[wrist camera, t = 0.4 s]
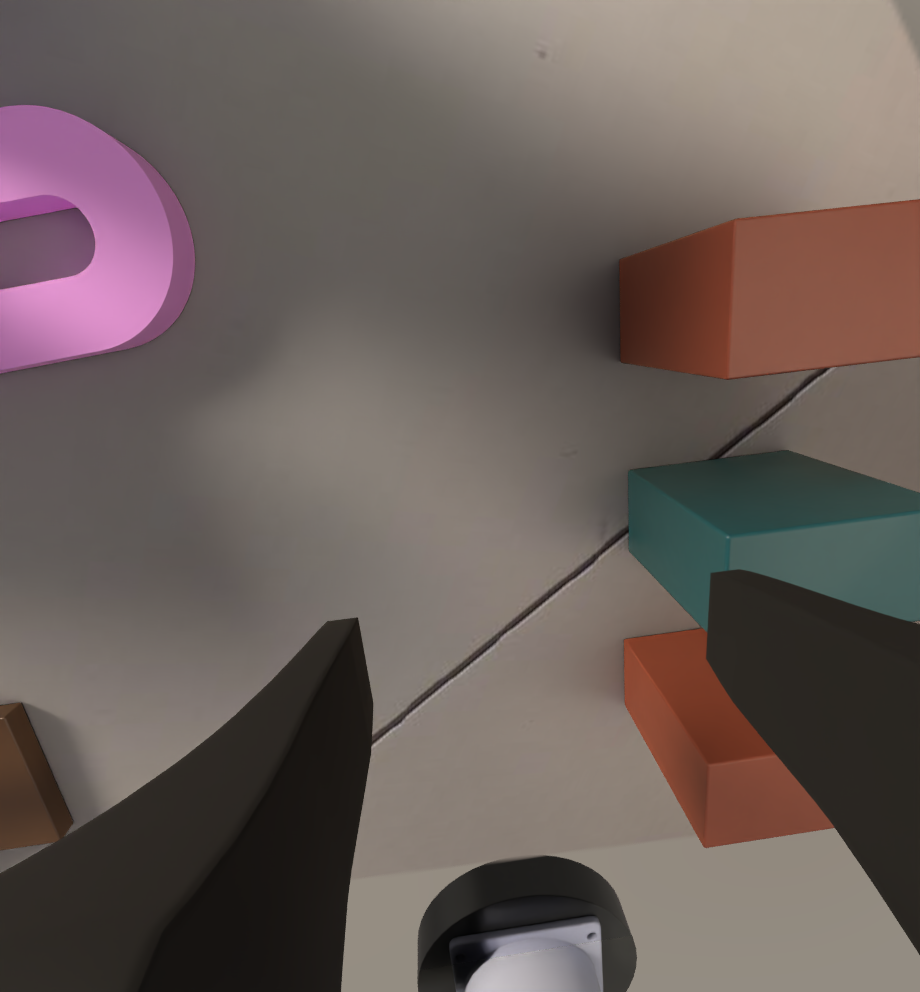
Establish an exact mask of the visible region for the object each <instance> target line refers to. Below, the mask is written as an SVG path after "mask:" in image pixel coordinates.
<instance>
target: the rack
mask: <svg viewBox="0 0 920 992" xmlns="http://www.w3.org/2000/svg"><path fill="white" fill-rule="evenodd" d="M72 824H73V821H72V818H71V816H70V814H69V812H68V809H67V807H66V805H65V802H64V800H63V798H62V795H61V793H60V791H59V789H58V786H57V784H56V782H55V779H54V777H53V775H52V773H51V770H50V768H49V766H48V763H47V761H46V759H45V757H44V754H43V752H42V750H41V747H40V745H39V743H38V740H37V738H36V736H35V734H34V731H33V729H32V727H31V724H30V722H29V720H28V718H27V715H26V713H25V711H24V708H23V706H22V704H21V703H15V704H8V705H0V850H6V849H13V848H19V847H26V846H33V845H40V844H46V843H53V842H57V841H58V840H60V839H62V838H63V837H64V836H65V834H66V833H67V832H68V830H69V829H70V827H71V826H72Z"/></svg>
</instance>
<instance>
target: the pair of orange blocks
mask: <svg viewBox="0 0 920 992" xmlns="http://www.w3.org/2000/svg"><path fill="white" fill-rule="evenodd" d="M619 270H620V353H621V363H627V364H633V365H639V366H645V367H652V368H658V369H664V370H670V371H677V372H683V373H689V374H695V375H702V376H708V377H714V378H720V379H726V380H730V379H739V378H747V377H755V376H764V375H772V374H781V373H789V372H798V371H806V370H815V369H823V368H831V367H840V366H848V365H857V364H865V363H874V362H882V361H891V360H899V359H907V358H916V357H920V199H918V200H909V201H899V202H890V203H880V204H871V205H861V206H852V207H842V208H833V209H823V210H814V211H804V212H795V213H785V214H776V215H766V216H757V217H747V218H738V219H734V220H731V221H728V222H725V223H722V224H719V225H716V226H714V227H711V228H708V229H705V230H702V231H699V232H696V233H694V234H691V235H688V236H685V237H682V238H679V239H676V240H673V241H671V242H668V243H665V244H662V245H659V246H656V247H653V248H650V249H648V250H645V251H642V252H639V253H636V254H633V255H630V256H628V257H625V258H622V259H620V261H619ZM706 649H707V632H706V631H705V630H704V629H703V628H701V629H694V630H687V631H680V632H673V633H665V634H658V635H651V636H644V637H636V638H629V639H625V640H624V674H625V706H626V708H627V710H628V711H629V713H630V715H631V717H632V719H633V720H634V722H635V724H636V726H637V728H638V729H639V731H640V733H641V735H642V737H643V738H644V740H645V742H646V744H647V746H648V747H649V749H650V751H651V753H652V755H653V756H654V758H655V760H656V762H657V764H658V765H659V767H660V769H661V771H662V773H663V775H664V776H665V778H666V780H667V782H668V784H669V785H670V787H671V789H672V791H673V793H674V794H675V796H676V798H677V800H678V802H679V803H680V805H681V807H682V809H683V811H684V812H685V814H686V816H687V818H688V820H689V821H690V823H691V825H692V827H693V829H694V830H695V832H696V834H697V836H698V838H699V840H700V841H701V843H702V845H703V847H705V848H709V847H715V846H721V845H728V844H734V843H741V842H747V841H753V840H760V839H766V838H773V837H779V836H786V835H792V834H798V833H805V832H811V831H818V830H824V829H830V828H835V827H834V826H833V825H832V823H831V822H830V821H829V819H828V818H827V817H826V815H825V814H824V813H823V812H822V810H821V809H820V808H819V806H818V805H817V804H816V802H815V801H814V800H813V799H812V798H811V796H810V795H809V794H808V793H807V792H806V790H805V789H804V788H803V787H802V786H801V784H800V783H799V782H798V781H797V780H796V778H795V777H794V776H793V775H792V774H791V772H790V771H789V770H788V769H787V767H786V766H785V765H784V764H783V763H782V761H781V760H780V759H779V758H778V757H777V755H776V754H775V753H774V752H773V751H772V749H771V748H770V747H769V746H768V745H767V743H766V742H765V741H764V740H763V739H762V737H761V736H760V735H759V734H758V733H757V731H756V730H755V729H754V728H753V726H752V725H751V724H750V723H749V721H748V720H747V719H746V718H745V717H744V715H743V714H742V713H741V712H740V710H739V709H738V708H737V707H736V705H735V704H734V703H733V702H732V700H731V698H730V697H729V695H728V694H727V692H726V691H725V689H724V688H723V686H722V685H721V683H720V681H719V680H718V678H717V676H716V675H715V673H714V671H713V670H712V668H711V666H710V665H709V663H708V661H707V660H706Z"/></svg>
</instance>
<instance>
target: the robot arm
mask: <svg viewBox="0 0 920 992" xmlns="http://www.w3.org/2000/svg"><path fill="white" fill-rule="evenodd" d="M706 660H707V661H708V663H709V665H710V666H711V668H712V670H713V671H714V673H715V675H716V676H717V678H718V680H719V681H720V683H721V685H722V686H723V688H724V689H725V691H726V692H727V694H728V695H729V697H730V698H731V700H732V702H733V703H734V704H735V705H736V707H737V708H738V709H739V710H740V712H741V713H742V714H743V715H744V717H745V718H746V719H747V720H748V721H749V723H750V724H751V725H752V726H753V728H754V729H755V730H756V731H757V733H758V734H759V735H760V736H761V737H762V739H763V740H764V741H765V742H766V743H767V745H768V746H769V747H770V748H771V749H772V751H773V752H774V753H775V754H776V755H777V757H778V758H779V759H780V760H781V761H782V763H783V764H784V765H785V766H786V767H787V769H788V770H789V771H790V772H791V774H792V775H793V776H794V777H795V778H796V780H797V781H798V782H799V783H800V784H801V786H802V787H803V788H804V789H805V790H806V792H807V793H808V794H809V795H810V796H811V798H812V799H813V800H814V801H815V802H816V804H817V805H818V806H819V808H820V809H821V810H822V812H823V813H824V814H825V815H826V817H827V818H828V819H829V821H830V822H831V823H832V825H833V826H834V827H835V829H836V830H837V831H838V833H839V834H840V836H841V837H842V839H843V840H844V842H845V843H846V845H847V846H848V848H849V849H850V850H851V852H852V853H853V855H854V856H855V858H856V859H857V861H858V862H859V863H860V865H861V866H862V868H863V869H864V871H865V872H866V874H867V875H868V877H869V878H870V879H871V881H872V882H873V884H874V885H875V887H876V888H877V890H878V891H879V893H880V895H881V896H882V897H883V899H884V901H885V902H886V904H887V905H888V907H889V908H890V910H891V911H892V913H893V915H894V916H895V918H896V919H897V921H898V922H899V924H900V925H901V927H902V928H903V930H904V931H905V933H906V934H907V936H908V938H909V939H910V941H911V942H912V943H913V945H914V947H915V948H916V950H917V951H918V953H919V955H920V625H919V624H916V623H912V622H909V621H906V620H902V619H899V618H895V617H892V616H889V615H885V614H882V613H879V612H876V611H873V610H869V609H866V608H863V607H860V606H857V605H854V604H851V603H848V602H845V601H842V600H839V599H836V598H833V597H830V596H827V595H824V594H821V593H818V592H815V591H812V590H809V589H806V588H803V587H800V586H797V585H794V584H791V583H788V582H785V581H782V580H778V579H775V578H772V577H769V576H765V575H762V574H758V573H755V572H751V571H746V570H741V569H737V570H729V571H721V572H713V573H710V592H709V611H708V630H707V649H706ZM372 726H373V699H372V693H371V688H370V682H369V676H368V671H367V665H366V660H365V654H364V648H363V643H362V637H361V632H360V626H359V621H358V618H350V619H342V620H334V621H327V622H326V623H325V624H324V625H323V626H322V627H321V628H320V629H319V630H318V631H317V632H316V634H315V635H314V636H313V637H312V638H311V639H310V640H309V641H308V642H307V643H306V645H305V646H304V647H303V648H302V649H301V650H300V651H299V652H298V653H297V654H296V655H295V656H294V657H293V659H292V660H291V661H290V662H289V663H288V664H287V665H286V666H285V667H284V668H283V669H282V670H281V671H280V672H279V673H278V674H277V675H276V676H275V677H274V678H273V679H272V681H270V682H269V683H268V684H267V685H266V686H265V687H264V688H263V689H262V690H261V691H260V692H259V693H258V694H257V695H256V696H255V697H254V698H253V699H252V700H250V701H249V702H248V703H247V704H246V705H245V706H244V707H243V708H242V709H241V710H240V711H239V712H238V713H237V714H236V715H235V716H234V717H232V718H231V719H230V720H229V721H228V722H227V723H226V724H224V725H223V726H222V727H221V728H220V729H218V730H217V731H216V732H215V733H214V734H213V735H211V736H210V737H209V738H208V739H206V740H205V741H204V742H203V743H201V744H200V745H199V746H198V747H196V748H195V749H194V750H192V751H191V752H190V753H189V754H187V755H186V756H185V757H184V758H182V759H181V760H180V761H178V762H177V763H176V764H174V765H173V766H171V767H170V768H169V769H167V770H166V771H164V772H163V773H161V774H160V775H158V776H157V777H156V778H154V779H153V780H151V781H150V782H148V783H147V784H146V785H144V786H143V787H141V788H140V789H138V790H137V791H135V792H134V793H133V794H131V795H130V796H128V797H127V798H125V799H124V800H122V801H121V802H120V803H118V804H117V805H115V806H114V807H112V808H110V809H109V810H107V811H106V812H104V813H103V814H101V815H99V816H98V817H96V818H94V819H93V820H91V821H90V822H88V823H86V824H85V825H83V826H82V827H80V828H78V829H77V830H75V831H74V832H72V833H70V834H68V835H67V836H65V837H63V838H62V839H60V840H58V841H57V842H55V843H53V844H51V845H50V846H48V847H46V848H45V849H43V850H41V851H40V852H38V853H36V854H34V855H33V856H31V857H29V858H27V859H25V860H24V861H22V862H20V863H18V864H17V865H15V866H13V867H11V868H9V869H8V870H6V871H4V872H2V873H0V992H341V981H342V966H343V952H344V940H345V928H346V915H347V914H346V913H347V902H348V893H349V885H350V878H351V870H352V864H353V858H354V852H355V846H356V840H357V834H358V828H359V822H360V816H361V811H362V805H363V799H364V793H365V787H366V781H367V775H368V768H369V762H370V756H371V746H372ZM449 950H450V957H451V963H452V969H453V975H454V982H455V988H456V992H603V973H602V943H601V926H600V922H599V919H598V918H597V917H595V916H584V917H577V918H571V919H565V920H559V921H552V922H546V923H540V924H534V925H527V926H521V927H515V928H509V929H502V930H496V931H490V932H484V933H477V934H471V935H465V936H458V937H455V938H453V939H452V940H451V941H450V943H449Z"/></svg>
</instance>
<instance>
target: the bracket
mask: <svg viewBox="0 0 920 992" xmlns="http://www.w3.org/2000/svg"><path fill="white" fill-rule="evenodd" d="M72 208H78V209H79V210H80V211H81V212H82V213H83V214H84V215H85V217H86V218H87V220H88V221H89V223H90V225H91V227H92V230H93V233H94V236H95V253H94V257H93V259H92V261H91V263H90V265H89V266H88V267H87V268H86V269H85V270H84V271H83V272H81V273H79V274H77V275H75V276H71V277H65V278H60V279H55V280H50V281H44V282H39V283H34V284H29V285H23V286H18V287H13V288H8V289H3V290H0V374H1V373H6V372H11V371H17V370H22V369H27V368H32V367H37V366H42V365H48V364H53V363H58V362H63V361H68V360H74V359H79V358H84V357H89V356H94V355H99V354H105V353H110V352H115V351H120V350H125V349H130V348H134V347H137V346H140V345H143V344H145V343H147V342H149V341H151V340H153V339H155V338H157V337H158V336H159V335H161V334H162V333H164V332H165V331H166V330H167V329H168V328H169V327H170V326H171V325H172V324H173V323H174V322H175V320H176V319H177V318H178V317H179V315H180V314H181V312H182V310H183V309H184V307H185V305H186V303H187V301H188V298H189V295H190V292H191V289H192V285H193V280H194V272H195V252H194V243H193V239H192V234H191V230H190V227H189V224H188V220H187V218H186V216H185V213H184V211H183V208H182V207H181V205H180V203H179V201H178V199H177V197H176V195H175V194H174V192H173V191H172V189H171V188H170V186H169V185H168V184H167V182H166V181H165V180H164V179H163V177H162V176H161V175H160V174H159V173H158V172H157V171H156V169H155V168H154V167H153V166H152V165H151V164H150V163H148V162H147V161H146V160H145V159H144V158H143V157H142V156H140V155H139V154H138V153H136V152H135V151H133V150H132V149H131V148H129V147H128V146H126V145H124V144H123V143H121V142H120V141H118V140H117V139H115V138H113V137H112V136H110V135H109V134H107V133H105V132H104V131H102V130H101V129H99V128H97V127H96V126H94V125H92V124H91V123H89V122H87V121H85V120H83V119H81V118H79V117H77V116H75V115H72V114H69V113H67V112H64V111H61V110H57V109H53V108H49V107H44V106H36V105H14V106H6V107H0V222H3V221H8V220H13V219H19V218H24V217H29V216H35V215H40V214H45V213H50V212H56V211H61V210H66V209H72Z"/></svg>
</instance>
